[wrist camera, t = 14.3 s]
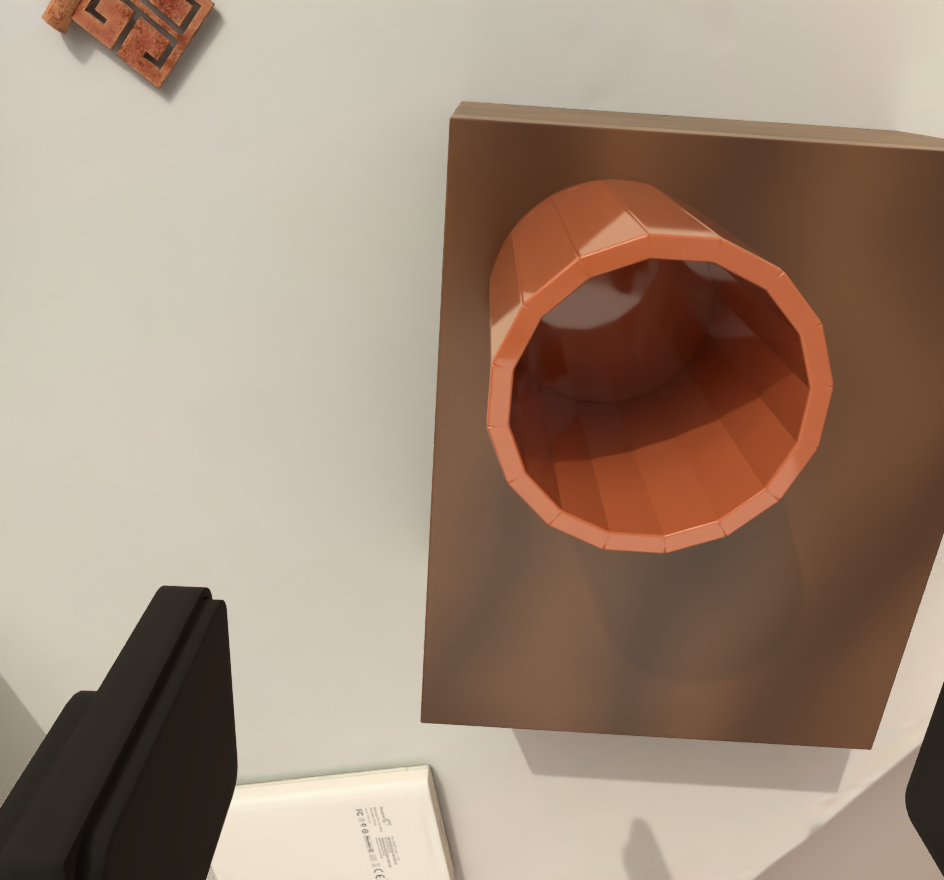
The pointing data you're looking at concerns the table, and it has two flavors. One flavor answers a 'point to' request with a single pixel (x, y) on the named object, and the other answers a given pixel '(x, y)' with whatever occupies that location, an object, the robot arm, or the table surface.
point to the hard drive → (336, 829)
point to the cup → (647, 370)
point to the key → (142, 39)
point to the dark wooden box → (760, 540)
